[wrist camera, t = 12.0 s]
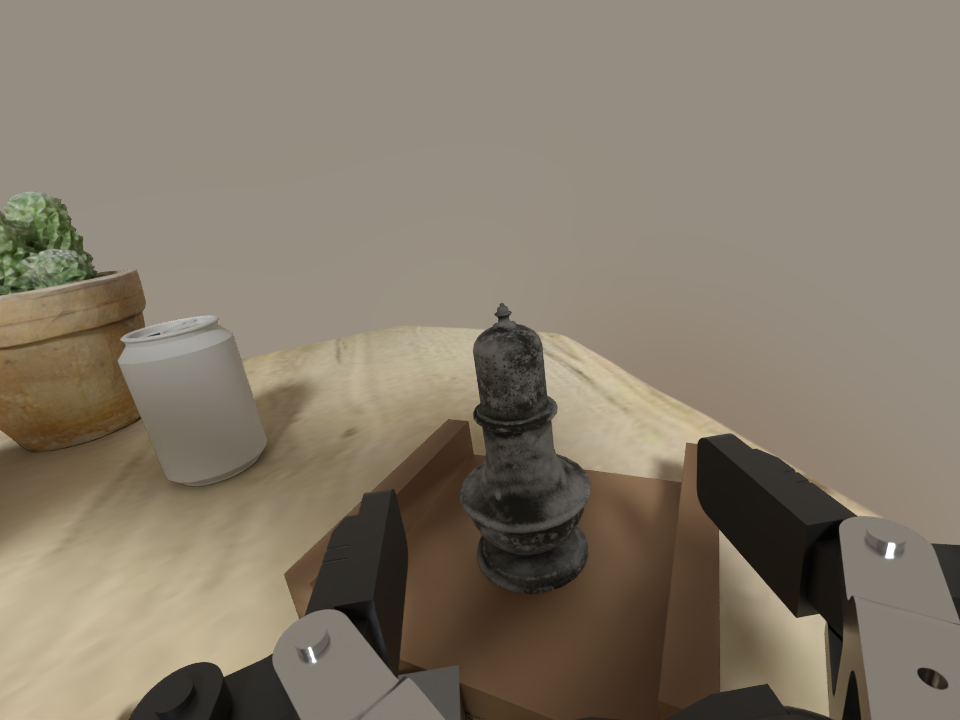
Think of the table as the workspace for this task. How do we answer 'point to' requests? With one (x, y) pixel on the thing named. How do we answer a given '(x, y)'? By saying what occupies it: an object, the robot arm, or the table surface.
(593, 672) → the brown piece
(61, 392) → the potted plant
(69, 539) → the table surface
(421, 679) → the socket frame
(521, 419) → the salt shaker
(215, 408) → the can
